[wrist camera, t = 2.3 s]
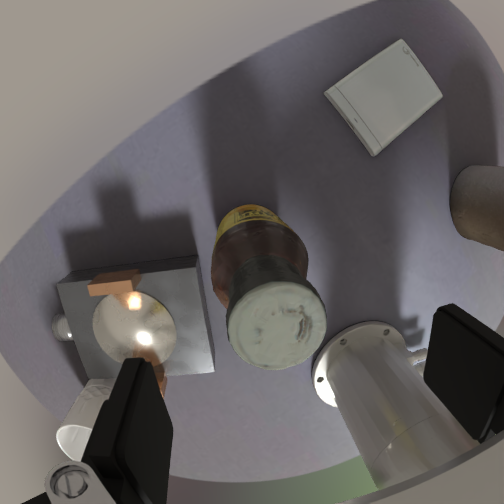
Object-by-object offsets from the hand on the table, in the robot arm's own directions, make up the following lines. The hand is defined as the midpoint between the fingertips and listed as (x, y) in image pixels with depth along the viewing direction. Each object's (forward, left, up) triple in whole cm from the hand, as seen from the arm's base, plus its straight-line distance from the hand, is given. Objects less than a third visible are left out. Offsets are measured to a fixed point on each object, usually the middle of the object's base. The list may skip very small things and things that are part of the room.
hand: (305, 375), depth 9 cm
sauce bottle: (0, 0, -23) cm, 23 cm away
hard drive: (-17, -13, -24) cm, 32 cm away
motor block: (+13, +7, -23) cm, 27 cm away
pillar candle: (-29, -1, -23) cm, 37 cm away
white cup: (+19, +18, -23) cm, 35 cm away
